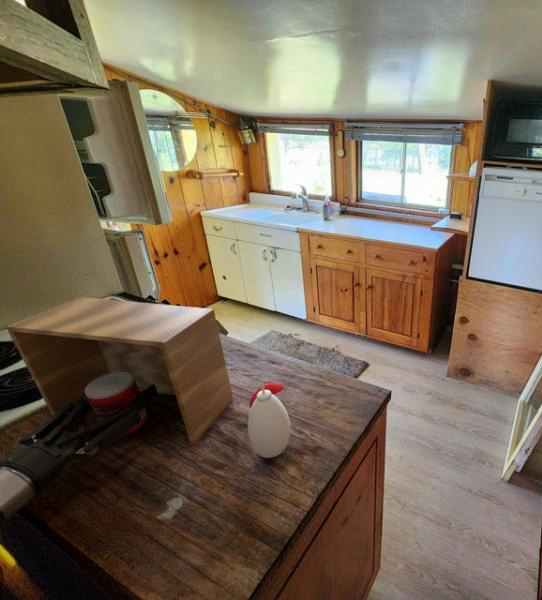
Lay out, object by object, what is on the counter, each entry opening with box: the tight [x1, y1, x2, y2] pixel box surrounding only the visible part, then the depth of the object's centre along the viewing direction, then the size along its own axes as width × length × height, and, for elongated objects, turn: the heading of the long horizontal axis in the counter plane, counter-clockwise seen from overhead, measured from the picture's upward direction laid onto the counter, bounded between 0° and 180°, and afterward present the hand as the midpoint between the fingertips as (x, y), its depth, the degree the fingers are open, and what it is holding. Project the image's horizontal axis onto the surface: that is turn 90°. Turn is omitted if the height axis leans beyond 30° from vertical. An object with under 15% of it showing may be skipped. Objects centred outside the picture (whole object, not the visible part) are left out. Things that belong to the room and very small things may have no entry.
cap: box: [249, 382, 285, 409], centre depth 77 cm, size 8×6×6 cm
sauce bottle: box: [247, 382, 291, 459], centre depth 64 cm, size 8×8×18 cm
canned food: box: [85, 372, 148, 437], centre depth 67 cm, size 8×8×11 cm
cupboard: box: [5, 296, 234, 445], centre depth 71 cm, size 32×14×25 cm, turn 84°
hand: (136, 387), depth 72 cm, fingers closed on canned food, 8 cm apart
